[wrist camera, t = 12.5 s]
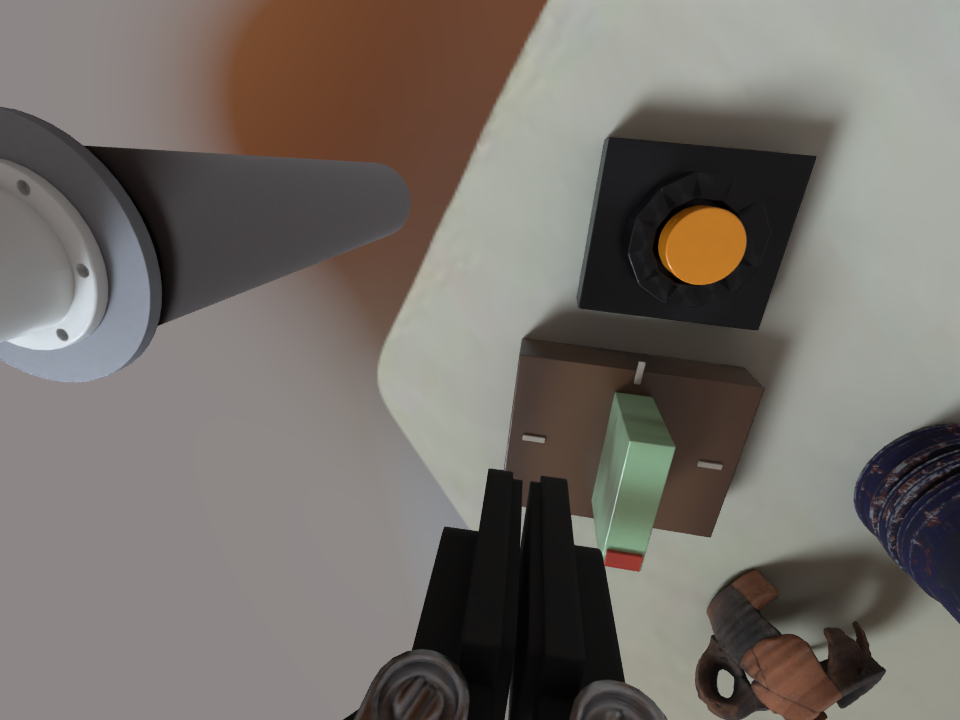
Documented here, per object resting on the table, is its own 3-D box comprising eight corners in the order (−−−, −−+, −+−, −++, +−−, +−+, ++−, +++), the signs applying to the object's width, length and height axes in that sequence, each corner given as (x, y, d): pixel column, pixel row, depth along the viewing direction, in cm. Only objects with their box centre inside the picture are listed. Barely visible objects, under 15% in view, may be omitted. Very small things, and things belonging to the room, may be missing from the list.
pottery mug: (784, 538, 34) (902, 655, 28) (796, 575, 40) (896, 677, 34) (650, 633, 35) (734, 766, 29) (681, 655, 41) (757, 769, 34)
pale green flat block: (614, 391, 28) (630, 443, 22) (652, 396, 27) (677, 449, 22) (591, 500, 31) (600, 568, 25) (625, 505, 31) (641, 575, 25)
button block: (576, 299, 29) (580, 317, 25) (604, 139, 26) (613, 134, 22) (743, 319, 28) (772, 341, 24) (795, 157, 25) (838, 154, 21)
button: (650, 273, 24) (657, 280, 23) (667, 201, 23) (676, 203, 21) (721, 281, 24) (733, 289, 22) (743, 209, 23) (758, 211, 21)
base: (502, 483, 35) (498, 511, 32) (523, 329, 30) (520, 345, 27) (695, 514, 34) (709, 546, 31) (748, 358, 29) (770, 379, 26)
